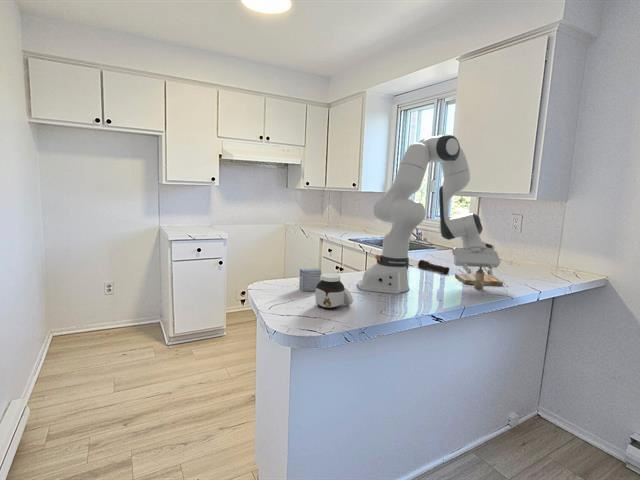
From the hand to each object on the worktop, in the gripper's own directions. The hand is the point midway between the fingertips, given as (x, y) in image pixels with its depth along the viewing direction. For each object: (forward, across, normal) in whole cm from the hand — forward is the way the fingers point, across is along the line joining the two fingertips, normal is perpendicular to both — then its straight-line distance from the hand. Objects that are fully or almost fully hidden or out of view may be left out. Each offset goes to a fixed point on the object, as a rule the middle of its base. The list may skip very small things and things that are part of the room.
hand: (479, 273), depth 164 cm
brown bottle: (+5, 0, +4) cm, 7 cm away
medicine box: (+16, -76, -6) cm, 78 cm away
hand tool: (-17, -12, +27) cm, 34 cm away
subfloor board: (-4, +5, +14) cm, 15 cm away
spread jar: (+29, -66, -19) cm, 75 cm away
